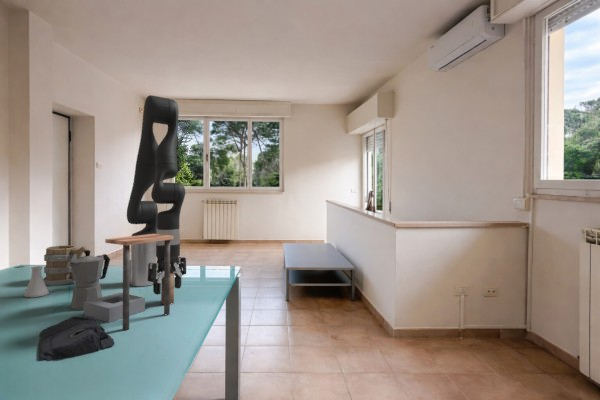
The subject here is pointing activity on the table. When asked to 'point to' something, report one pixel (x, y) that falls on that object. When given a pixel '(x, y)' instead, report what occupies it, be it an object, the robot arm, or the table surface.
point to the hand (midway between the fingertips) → (167, 291)
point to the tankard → (60, 264)
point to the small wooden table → (126, 268)
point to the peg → (170, 289)
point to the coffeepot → (87, 278)
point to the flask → (36, 284)
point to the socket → (112, 307)
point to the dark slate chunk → (72, 339)
